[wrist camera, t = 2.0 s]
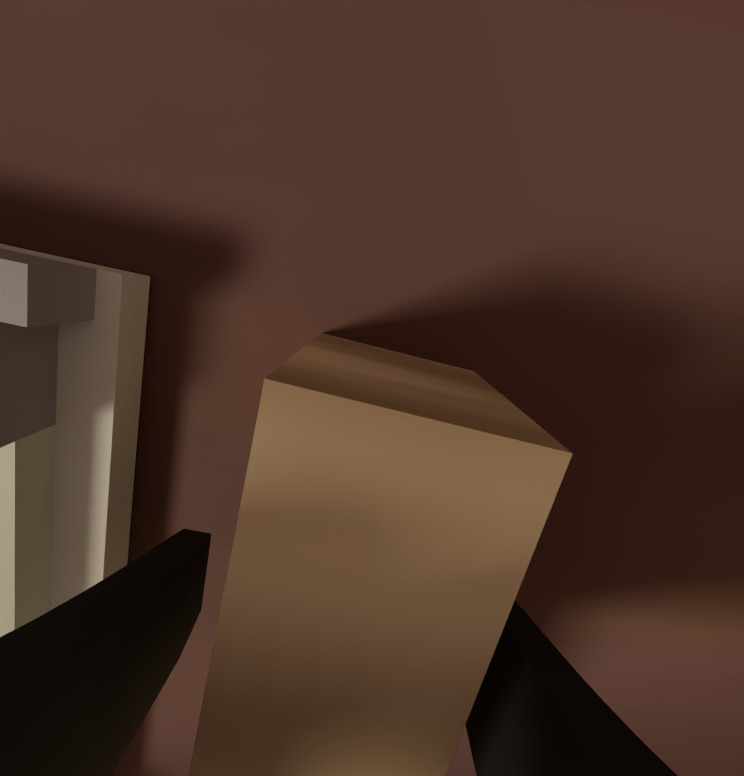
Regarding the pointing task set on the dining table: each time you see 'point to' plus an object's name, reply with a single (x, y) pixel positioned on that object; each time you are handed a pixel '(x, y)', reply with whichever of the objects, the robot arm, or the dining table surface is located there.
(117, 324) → the cream rectangular tray
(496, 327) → the dining table surface
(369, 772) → the tan wooden block
